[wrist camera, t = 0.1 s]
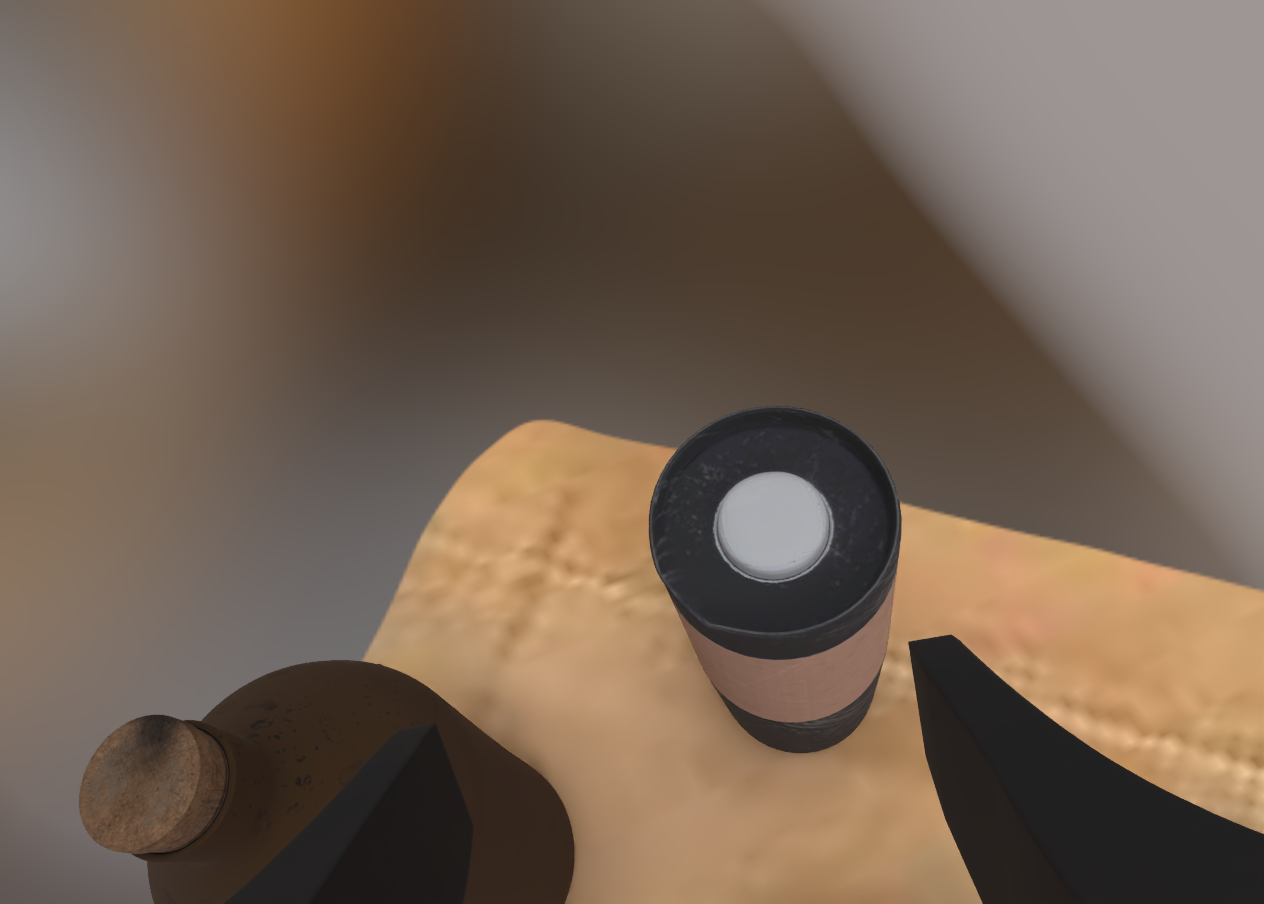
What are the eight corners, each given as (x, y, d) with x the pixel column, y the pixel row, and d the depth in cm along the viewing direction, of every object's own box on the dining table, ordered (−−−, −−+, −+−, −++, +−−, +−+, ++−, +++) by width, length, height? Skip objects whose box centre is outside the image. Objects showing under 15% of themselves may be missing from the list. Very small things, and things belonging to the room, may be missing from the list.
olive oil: (632, 899, 43) (418, 855, 21) (427, 1040, 42) (-20, 1148, 20) (522, 698, 48) (257, 495, 26) (336, 821, 47) (-100, 716, 25)
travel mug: (877, 600, 47) (899, 396, 29) (883, 763, 44) (913, 644, 26) (719, 598, 49) (651, 404, 31) (714, 756, 45) (635, 639, 28)
